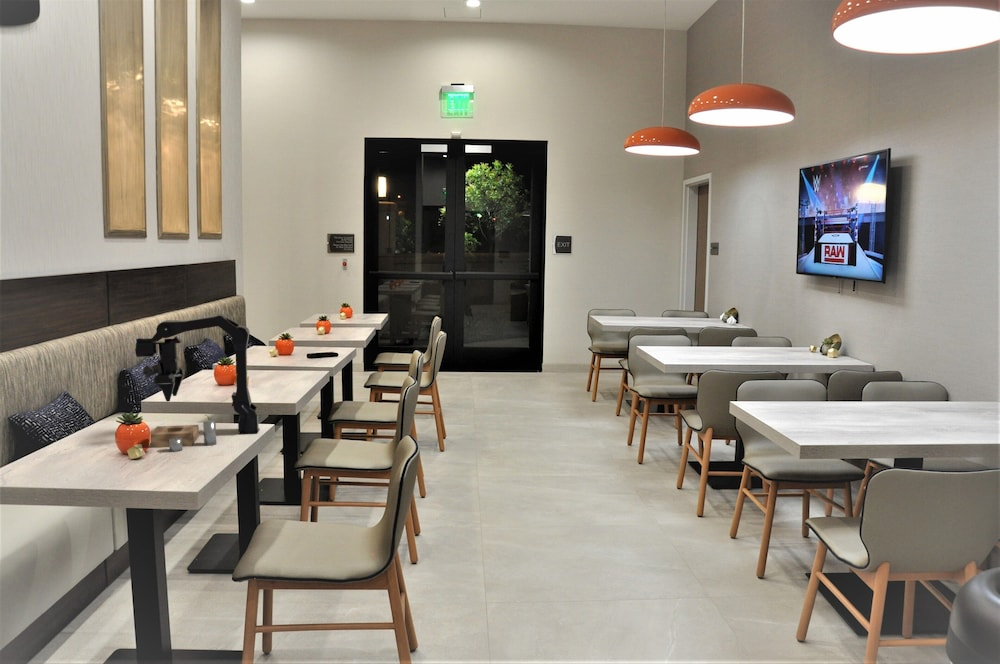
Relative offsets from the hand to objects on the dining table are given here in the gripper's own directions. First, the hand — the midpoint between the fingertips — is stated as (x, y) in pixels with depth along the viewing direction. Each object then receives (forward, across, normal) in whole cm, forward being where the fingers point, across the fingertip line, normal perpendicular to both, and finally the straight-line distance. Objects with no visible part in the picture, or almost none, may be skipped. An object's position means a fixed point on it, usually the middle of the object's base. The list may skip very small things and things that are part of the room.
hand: (171, 398), depth 276 cm
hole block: (+14, +8, +2) cm, 17 cm away
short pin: (+14, +19, +5) cm, 25 cm away
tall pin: (+14, +13, +15) cm, 25 cm away
